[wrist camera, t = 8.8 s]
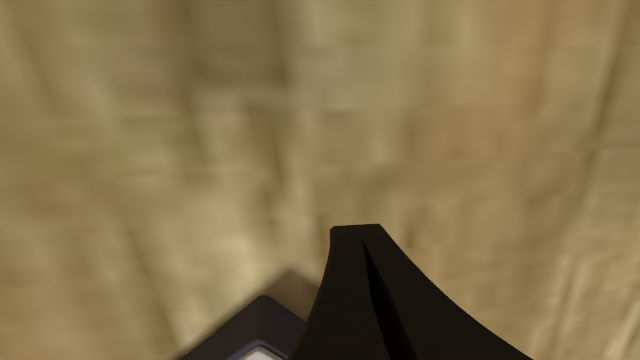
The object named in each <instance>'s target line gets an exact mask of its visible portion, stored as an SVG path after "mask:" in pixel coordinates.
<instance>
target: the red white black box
mask: <svg viewBox="0 0 640 360" xmlns="http://www.w3.org/2000/svg"><path fill="white" fill-rule="evenodd" d="M305 324H306V322H305V321H304V320H302V319H301V318H299V317H298V316H297V315H295V314H294V313H292V312H291V311H289V310H288V309H286V308H285V307H283V306H282V305H280V304H279V303H278V302H276V301H275V300H273V299H272V298H270V297H268V296H260V297H259V298H257V299H256V300H255V301H253V302H252V303H251V304H250V305H248V306H247V307H246V308H244V309H243V310H242V311H241V312H239V313H238V314H237V315H236V316H234V317H233V318H232V319H231V320H229V321H228V322H227V323H226V324H224V325H223V326H222V327H221V328H220V329H219V330H218V331H217V333H216V334H215V335H214V336H212V337H211V338H210V339H208V340H207V341H206V342H204V343H203V344H201V345H200V346H199V347H197V348H196V349H195V350H193V351H192V352H191V353H189V354H188V355H187V356H185V357H184V358H182V359H181V360H287V359H288V357H289V356H290V354H291V352H292V350H293V348H294V346H295V344H296V342H297V340H298V338H299V336H300V334H301V332H302V330H303V328H304V326H305Z"/></svg>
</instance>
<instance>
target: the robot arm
mask: <svg viewBox="0 0 640 360" xmlns="http://www.w3.org/2000/svg"><path fill="white" fill-rule="evenodd" d="M287 360H533V359H531V358H530V357H528V356H527V355H525V354H523V353H522V352H520V351H519V350H517V349H516V348H514V347H513V346H511V345H510V344H508V343H507V342H506V341H504V340H503V339H501V338H500V337H498V336H497V335H495V334H494V333H492V332H491V331H490V330H488V329H487V328H486V327H484V326H483V325H481V324H480V323H479V322H478V321H476V320H475V319H474V318H473V317H471V316H470V315H469V314H467V313H466V312H465V311H464V310H462V309H461V308H460V307H459V306H458V305H456V304H455V303H454V302H453V301H452V300H451V299H450V298H449V297H447V296H446V295H445V294H444V293H443V292H442V291H441V290H440V289H439V288H438V287H437V286H436V285H435V284H434V283H433V282H431V281H430V280H429V279H428V278H427V277H426V276H425V275H424V273H423V272H422V271H421V270H420V269H419V268H418V267H417V266H416V265H415V264H414V263H413V262H412V261H411V260H410V259H409V258H408V257H407V255H406V254H405V253H404V252H403V251H402V250H401V249H400V247H399V246H398V245H397V244H396V243H395V242H394V240H393V239H392V238H391V237H390V236H389V234H388V233H387V232H386V231H385V229H384V228H383V227H382V226H381V225H380V224H364V225H347V226H334V227H333V228H331V229H330V250H329V255H328V260H327V264H326V268H325V272H324V276H323V279H322V283H321V285H320V288H319V291H318V294H317V297H316V300H315V302H314V305H313V307H312V310H311V312H310V315H309V317H308V319H307V322H306V324H305V326H304V328H303V330H302V332H301V334H300V336H299V338H298V340H297V342H296V344H295V346H294V348H293V350H292V352H291V354H290V356H289V357H288V359H287Z"/></svg>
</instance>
